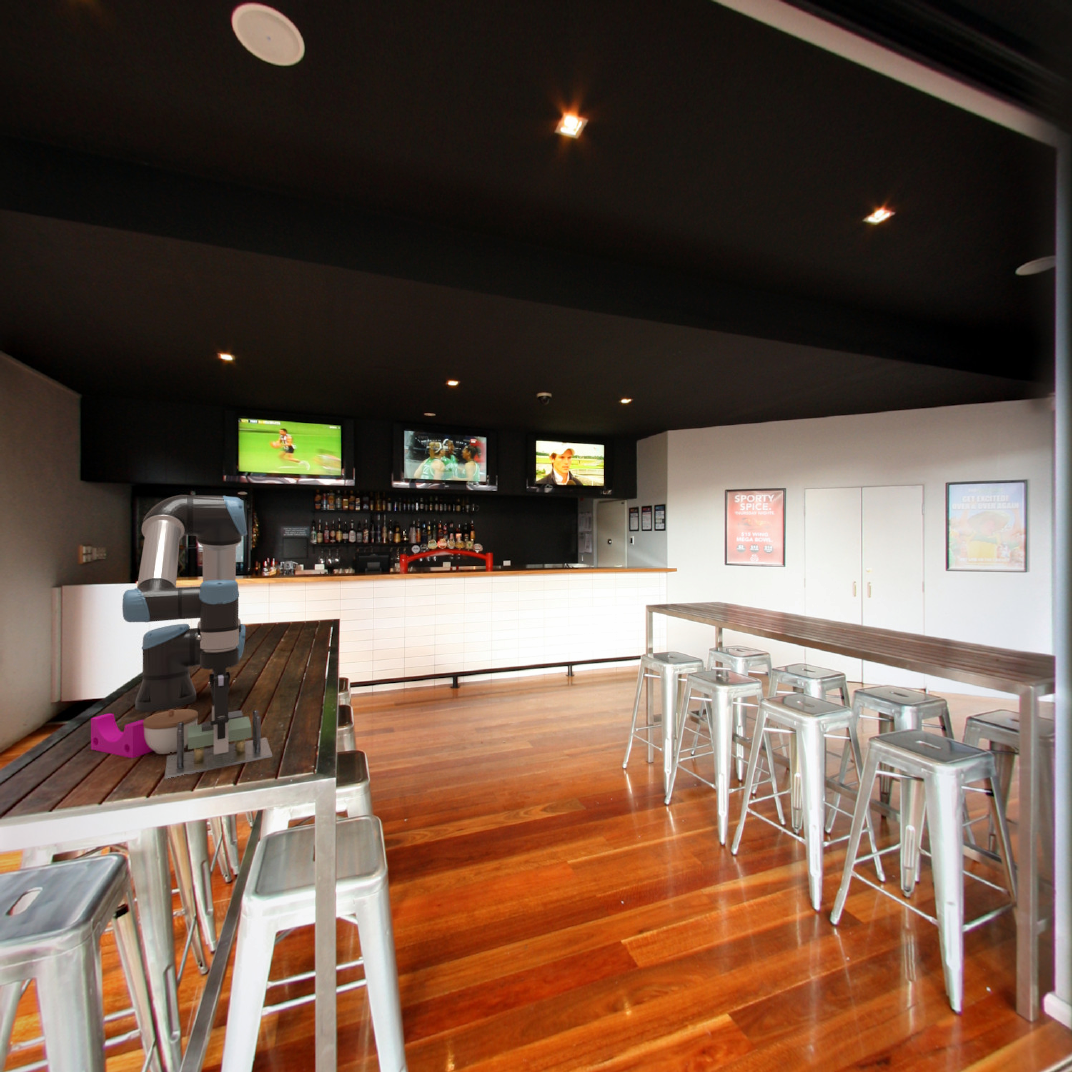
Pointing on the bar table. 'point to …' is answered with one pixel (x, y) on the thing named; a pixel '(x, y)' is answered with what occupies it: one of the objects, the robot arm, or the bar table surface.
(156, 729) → the lidded jar
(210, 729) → the board
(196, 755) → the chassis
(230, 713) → the dark grey cube
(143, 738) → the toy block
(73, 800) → the bar table surface
